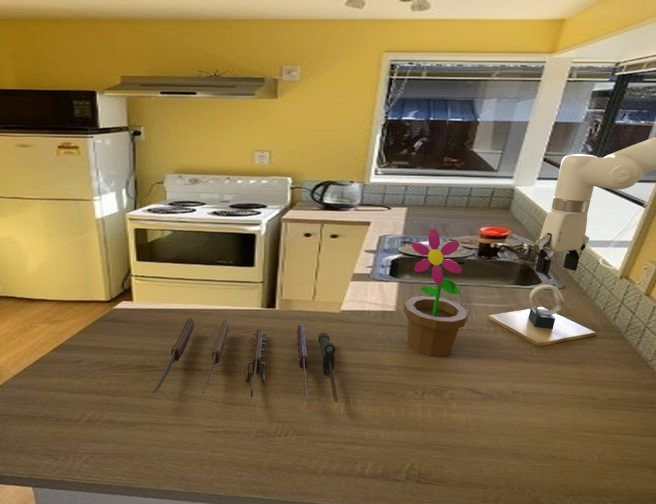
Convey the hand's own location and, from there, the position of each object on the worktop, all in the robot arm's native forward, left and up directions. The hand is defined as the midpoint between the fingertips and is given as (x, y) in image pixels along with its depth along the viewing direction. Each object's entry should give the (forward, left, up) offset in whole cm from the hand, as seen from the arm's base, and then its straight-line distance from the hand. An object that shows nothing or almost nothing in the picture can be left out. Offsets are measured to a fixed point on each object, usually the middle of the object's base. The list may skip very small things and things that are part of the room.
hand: (555, 271), depth 110 cm
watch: (0, 0, -16) cm, 16 cm away
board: (0, 0, -16) cm, 16 cm away
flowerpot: (+36, 0, -17) cm, 40 cm away
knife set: (+81, -1, -17) cm, 83 cm away
